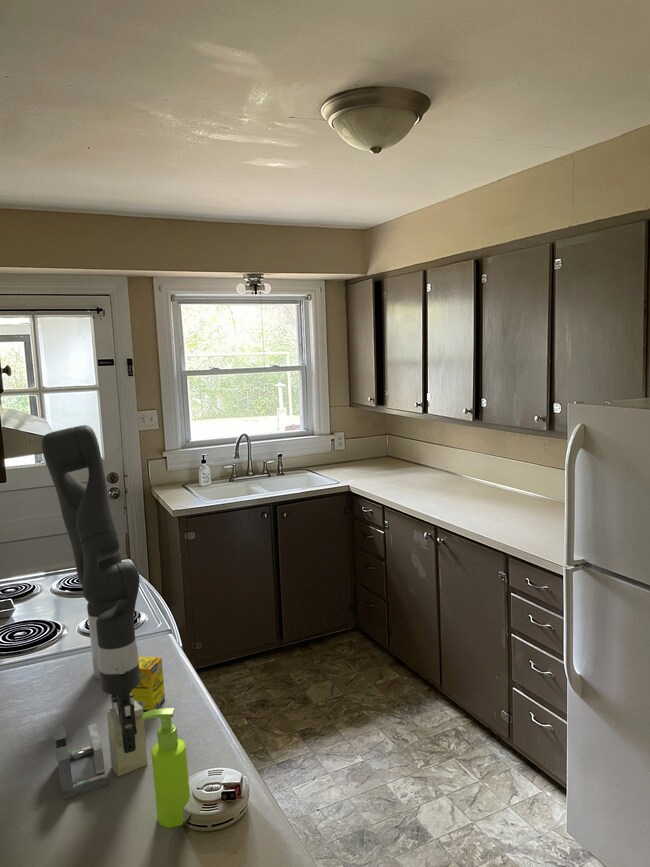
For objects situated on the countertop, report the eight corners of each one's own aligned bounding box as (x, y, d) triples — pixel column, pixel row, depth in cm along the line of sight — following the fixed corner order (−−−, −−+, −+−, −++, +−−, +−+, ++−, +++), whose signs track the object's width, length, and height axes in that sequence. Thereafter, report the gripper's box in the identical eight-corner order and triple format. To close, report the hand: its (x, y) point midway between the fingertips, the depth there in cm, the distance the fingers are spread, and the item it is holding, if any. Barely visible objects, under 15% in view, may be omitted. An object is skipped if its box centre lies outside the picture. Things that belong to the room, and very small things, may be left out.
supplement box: (154, 713, 148) (150, 669, 147) (131, 712, 150) (126, 667, 148) (166, 700, 154) (162, 656, 153) (143, 698, 155) (139, 655, 154)
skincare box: (117, 777, 126) (112, 719, 125) (110, 766, 130) (105, 710, 128) (148, 764, 130) (143, 708, 128) (141, 754, 133) (135, 699, 132)
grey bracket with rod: (57, 765, 131) (53, 729, 130) (98, 752, 135) (95, 717, 134) (62, 799, 120) (58, 761, 119) (106, 785, 124) (103, 747, 123)
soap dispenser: (154, 806, 117) (145, 704, 115) (193, 802, 118) (184, 700, 115) (148, 830, 111) (138, 722, 109) (189, 825, 112) (179, 718, 109)
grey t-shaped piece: (59, 762, 130) (56, 734, 129) (98, 750, 133) (95, 723, 133) (64, 789, 122) (60, 760, 121) (105, 776, 125) (102, 747, 124)
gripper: (94, 654, 132) (102, 728, 133) (104, 683, 119) (112, 765, 121) (132, 645, 135) (138, 718, 137) (145, 673, 122) (152, 752, 124)
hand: (126, 740), depth 129 cm, fingers open, 8 cm apart
